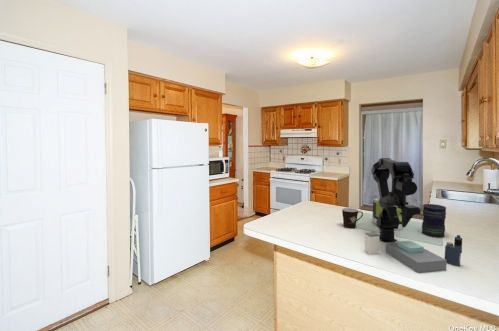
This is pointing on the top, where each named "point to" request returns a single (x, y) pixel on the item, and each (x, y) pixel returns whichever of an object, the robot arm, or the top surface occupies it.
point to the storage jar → (434, 220)
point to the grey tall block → (372, 243)
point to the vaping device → (454, 251)
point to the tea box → (378, 208)
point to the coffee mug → (350, 217)
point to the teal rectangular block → (410, 246)
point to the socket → (417, 259)
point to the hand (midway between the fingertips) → (397, 224)
